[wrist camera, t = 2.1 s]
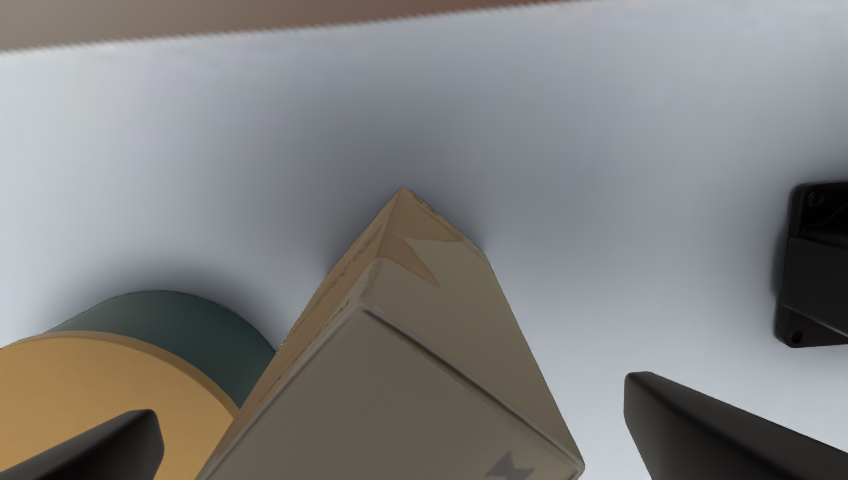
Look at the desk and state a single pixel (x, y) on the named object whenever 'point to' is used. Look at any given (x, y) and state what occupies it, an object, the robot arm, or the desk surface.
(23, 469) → the robot arm
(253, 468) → the box
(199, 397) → the tin
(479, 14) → the desk surface
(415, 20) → the desk surface
